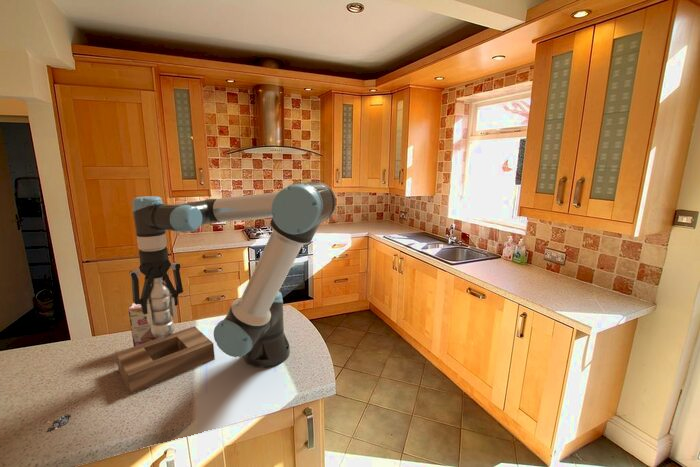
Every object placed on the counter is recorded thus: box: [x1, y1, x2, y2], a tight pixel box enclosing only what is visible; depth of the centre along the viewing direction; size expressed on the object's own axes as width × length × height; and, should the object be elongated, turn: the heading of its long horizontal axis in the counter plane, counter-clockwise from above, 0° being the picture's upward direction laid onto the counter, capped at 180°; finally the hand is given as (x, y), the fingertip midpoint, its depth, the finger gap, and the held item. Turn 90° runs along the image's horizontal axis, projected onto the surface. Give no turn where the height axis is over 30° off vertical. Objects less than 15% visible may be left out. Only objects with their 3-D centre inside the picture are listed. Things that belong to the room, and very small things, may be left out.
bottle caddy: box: [115, 326, 216, 395], centre depth 107 cm, size 16×24×6 cm, turn 136°
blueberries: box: [45, 413, 72, 433], centre depth 83 cm, size 7×8×2 cm
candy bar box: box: [128, 302, 158, 347], centre depth 116 cm, size 11×5×16 cm, turn 111°
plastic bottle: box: [147, 276, 175, 338], centre depth 103 cm, size 6×7×20 cm
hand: (161, 318), depth 104 cm, fingers closed on plastic bottle, 6 cm apart
